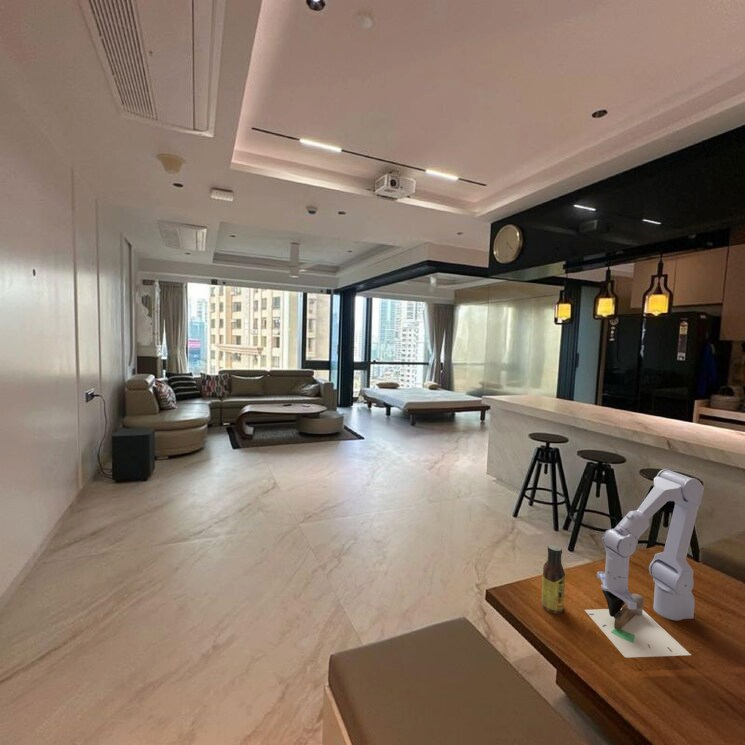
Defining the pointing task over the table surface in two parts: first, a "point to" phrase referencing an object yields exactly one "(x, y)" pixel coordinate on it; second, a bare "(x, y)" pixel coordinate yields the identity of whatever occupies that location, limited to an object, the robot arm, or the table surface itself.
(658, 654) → the tuner dial board
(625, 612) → the tuning lever
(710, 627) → the table surface
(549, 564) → the sauce bottle
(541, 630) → the table surface
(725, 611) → the table surface
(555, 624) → the table surface
